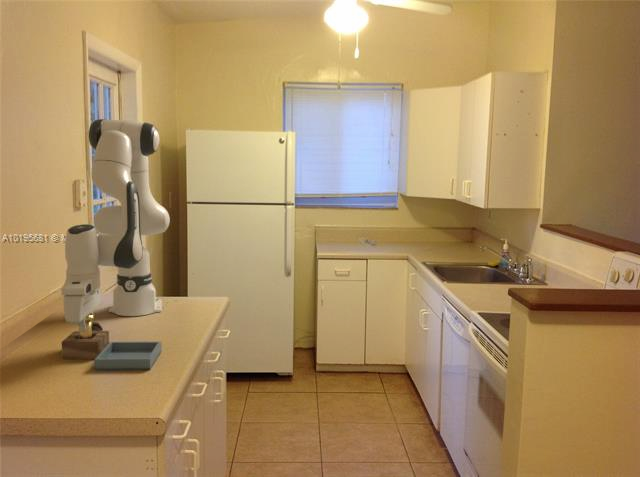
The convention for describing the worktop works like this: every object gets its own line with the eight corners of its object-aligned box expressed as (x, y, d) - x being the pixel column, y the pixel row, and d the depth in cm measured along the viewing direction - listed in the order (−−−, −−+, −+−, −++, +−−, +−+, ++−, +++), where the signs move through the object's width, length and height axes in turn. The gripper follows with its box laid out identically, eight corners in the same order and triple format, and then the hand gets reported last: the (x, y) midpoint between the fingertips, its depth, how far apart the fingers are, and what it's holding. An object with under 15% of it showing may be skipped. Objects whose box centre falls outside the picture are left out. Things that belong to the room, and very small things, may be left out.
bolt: (96, 337, 187) (99, 350, 173) (81, 331, 185) (83, 344, 171) (105, 321, 187) (108, 333, 174) (90, 315, 185) (92, 326, 172)
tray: (111, 351, 168) (110, 341, 168) (161, 351, 169) (161, 341, 169) (94, 370, 154) (94, 359, 153) (150, 369, 155) (150, 359, 154)
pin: (81, 350, 169) (79, 313, 167) (97, 350, 169) (96, 313, 168) (75, 355, 164) (73, 317, 163) (92, 355, 165) (90, 317, 163)
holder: (75, 347, 171) (74, 331, 171) (109, 346, 172) (108, 330, 171) (62, 358, 162) (61, 341, 161) (98, 358, 162) (98, 341, 162)
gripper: (84, 274, 174) (86, 318, 176) (58, 290, 154) (61, 340, 156) (105, 274, 174) (107, 318, 176) (82, 290, 154) (84, 340, 156)
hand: (85, 329), depth 166 cm, fingers closed on pin, 3 cm apart
